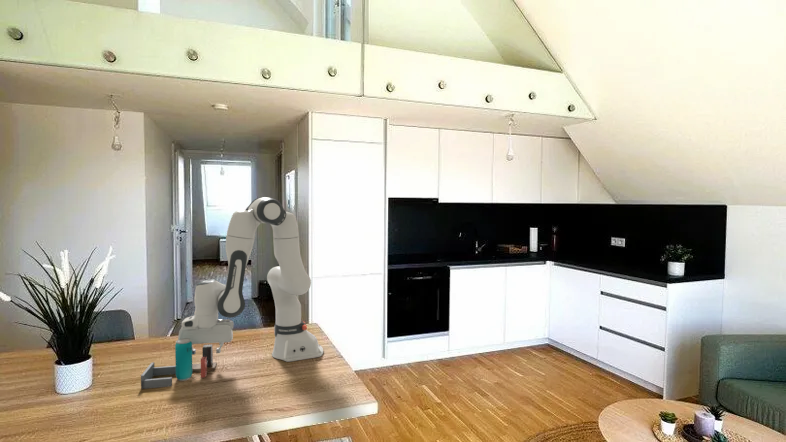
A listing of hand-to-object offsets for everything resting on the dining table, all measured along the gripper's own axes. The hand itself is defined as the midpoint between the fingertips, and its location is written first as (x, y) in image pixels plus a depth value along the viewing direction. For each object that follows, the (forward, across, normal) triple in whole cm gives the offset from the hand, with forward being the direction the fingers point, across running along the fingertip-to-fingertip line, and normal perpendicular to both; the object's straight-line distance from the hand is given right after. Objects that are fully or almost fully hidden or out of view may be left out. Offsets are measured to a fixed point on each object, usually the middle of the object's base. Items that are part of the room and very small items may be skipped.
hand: (206, 353), depth 167 cm
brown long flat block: (+6, +4, 0) cm, 8 cm away
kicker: (+6, -1, +4) cm, 7 cm away
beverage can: (+7, +6, +8) cm, 12 cm away
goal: (+7, +14, +8) cm, 18 cm away
